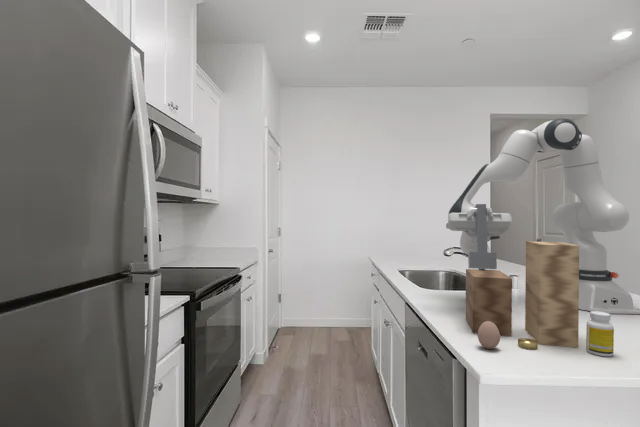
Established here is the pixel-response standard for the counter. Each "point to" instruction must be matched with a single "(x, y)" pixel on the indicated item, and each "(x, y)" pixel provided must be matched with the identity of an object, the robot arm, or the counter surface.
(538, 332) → the oak shelf block
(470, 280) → the walnut block
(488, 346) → the egg
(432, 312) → the counter surface
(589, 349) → the supplement bottle
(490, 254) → the hook bar
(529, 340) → the brass disc
